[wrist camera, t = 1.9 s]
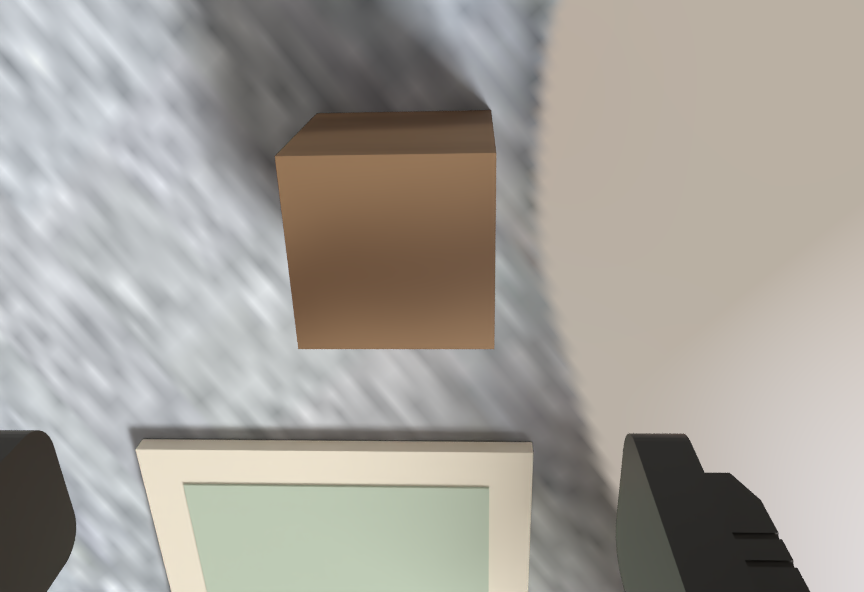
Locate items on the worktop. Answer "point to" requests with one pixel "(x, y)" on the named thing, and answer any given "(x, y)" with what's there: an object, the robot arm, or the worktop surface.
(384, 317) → the walnut block
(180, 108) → the worktop surface
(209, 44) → the worktop surface
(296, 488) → the coaster
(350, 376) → the worktop surface
